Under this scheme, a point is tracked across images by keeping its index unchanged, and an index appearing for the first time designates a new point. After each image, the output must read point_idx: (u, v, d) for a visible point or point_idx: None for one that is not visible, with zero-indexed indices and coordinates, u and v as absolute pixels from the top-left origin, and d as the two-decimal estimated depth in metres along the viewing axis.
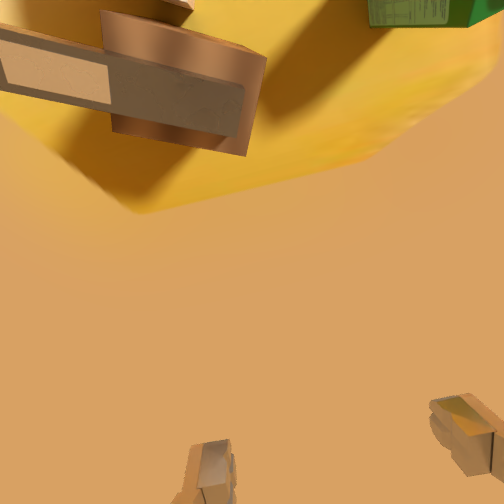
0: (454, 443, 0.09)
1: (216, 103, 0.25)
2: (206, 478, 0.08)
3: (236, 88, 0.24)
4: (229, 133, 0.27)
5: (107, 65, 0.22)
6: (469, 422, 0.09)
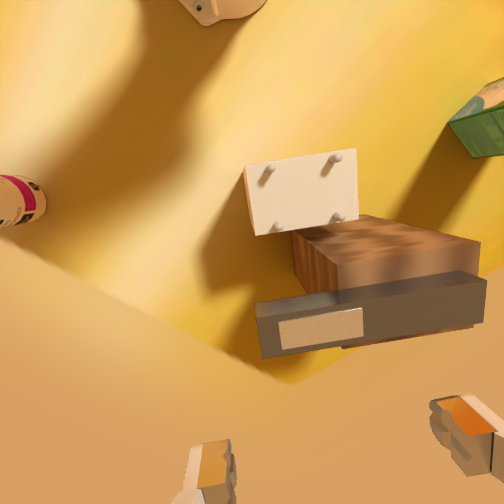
0: (454, 443, 0.09)
1: (459, 301, 0.24)
2: (206, 478, 0.08)
3: (478, 282, 0.24)
4: (475, 320, 0.25)
5: (361, 308, 0.24)
6: (469, 422, 0.09)
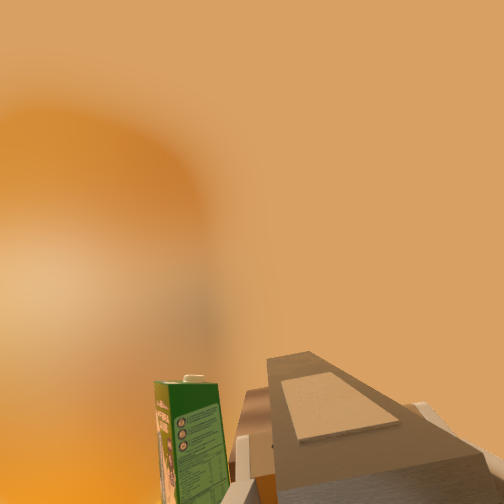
0: None
1: (284, 359, 0.24)
2: (258, 468, 0.08)
3: (267, 360, 0.26)
4: (307, 352, 0.26)
5: (281, 383, 0.15)
6: None
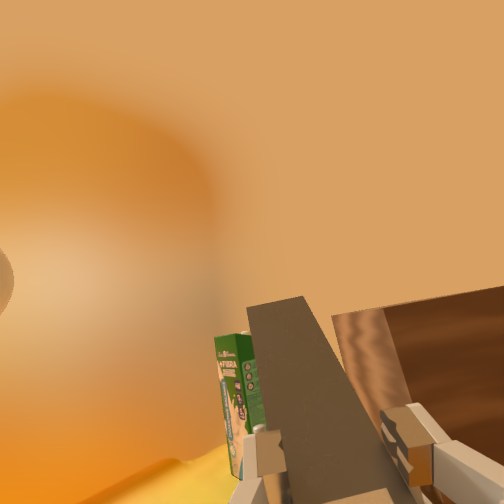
0: (399, 453, 0.09)
1: (274, 324, 0.18)
2: (265, 467, 0.08)
3: (248, 314, 0.19)
4: (301, 302, 0.19)
5: None
6: (411, 433, 0.09)
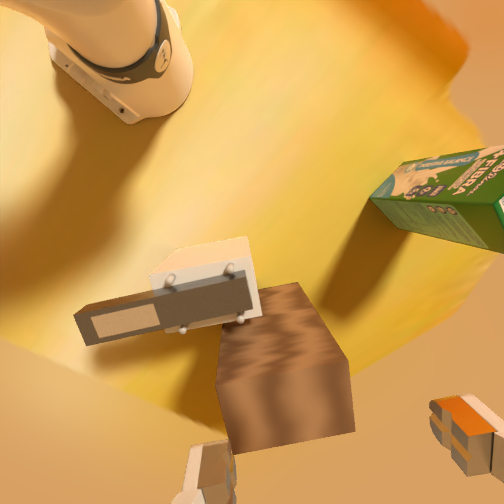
0: (454, 443, 0.09)
1: (229, 293, 0.32)
2: (206, 478, 0.08)
3: (239, 278, 0.32)
4: (246, 308, 0.33)
5: (153, 303, 0.32)
6: (469, 422, 0.09)
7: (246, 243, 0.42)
